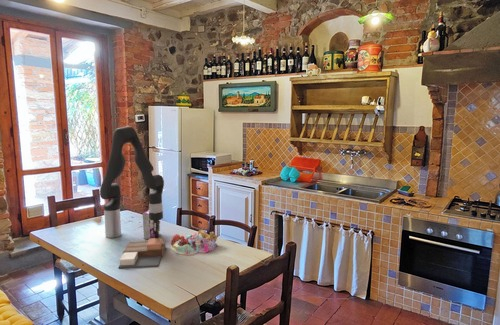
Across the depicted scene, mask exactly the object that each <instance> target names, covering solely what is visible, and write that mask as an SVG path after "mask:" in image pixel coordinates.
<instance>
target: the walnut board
mask: <svg viewBox="0 0 500 325" xmlns="http://www.w3.org/2000/svg"><path fill="white" fill-rule="evenodd" d="M147 243H148V240H139V241H134V240H133V241H129V242H128V243H127V244H126V247H125V248H124V249H123V251H122V254H123V253H126V252H138V257H153V256H161V259H162V258H163V255H164V252H165V250H166V240H165V239H164V240H163V239H162V246H161V248H160V249H157V250H147Z"/></svg>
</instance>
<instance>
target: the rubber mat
mask: <svg viewBox="0 0 500 325" xmlns="http://www.w3.org/2000/svg"><path fill="white" fill-rule="evenodd" d="M161 259H162V258H161V256H153V257H138V258H137V260H136V262H135V264H134V265H120V264H119V266H118V269H120V270H121V269H134V268H135V269H136V268H138V269H139V268H154V267H157V268H158V267H159V265H160V262H161Z"/></svg>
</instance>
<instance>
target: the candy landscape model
mask: <svg viewBox="0 0 500 325" xmlns="http://www.w3.org/2000/svg"><path fill="white" fill-rule="evenodd" d="M217 240H218V235H217V234H216V235H215V232H214V231H210V232H209V234H208V233H207V232H206V231H204V230H202V229H200V230H198V231H197V232H193V233H192V234H188V235H187V236H186V238H185V236H184V235H180V234H178V233H176V234H174V235H173V236H172V239H171V242H170V248H171V251H173V252H174V253H175V254H179V255H181V256H193V255H195V254H205V253H206V254H207V253H208V252H211V251H213V250H214V251H215V249H216V247H217V246H218V244H217V243H216V241H217Z"/></svg>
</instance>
